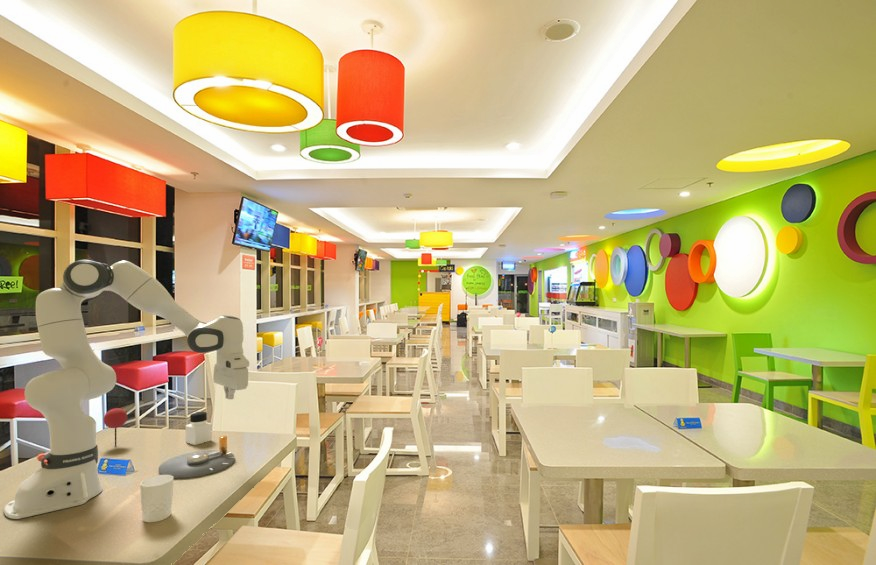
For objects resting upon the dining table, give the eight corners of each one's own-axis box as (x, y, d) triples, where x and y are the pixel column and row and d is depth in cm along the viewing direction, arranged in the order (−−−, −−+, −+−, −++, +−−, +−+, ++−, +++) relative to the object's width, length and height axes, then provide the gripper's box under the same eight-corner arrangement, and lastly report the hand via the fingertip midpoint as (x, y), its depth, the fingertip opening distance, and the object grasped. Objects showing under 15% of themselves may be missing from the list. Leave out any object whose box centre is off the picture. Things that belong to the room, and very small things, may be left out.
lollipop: (131, 443, 190) (131, 406, 191) (114, 449, 183) (114, 411, 183) (116, 442, 192) (116, 405, 192) (98, 448, 185) (99, 410, 185)
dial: (191, 466, 162) (191, 447, 162) (183, 461, 166) (183, 443, 166) (230, 455, 172) (230, 438, 172) (222, 451, 176) (222, 434, 177)
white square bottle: (211, 440, 194) (211, 411, 194) (195, 445, 188) (195, 415, 188) (201, 437, 197) (201, 409, 198) (185, 442, 191) (185, 413, 192)
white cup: (149, 526, 123) (149, 488, 123) (134, 519, 127) (134, 482, 128) (179, 514, 130) (179, 478, 130) (164, 507, 134) (164, 472, 134)
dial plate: (174, 485, 149) (174, 480, 150) (148, 466, 165) (148, 462, 165) (246, 463, 168) (246, 459, 168) (217, 448, 183) (217, 445, 183)
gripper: (208, 358, 174) (208, 395, 173) (234, 364, 160) (233, 405, 160) (225, 356, 178) (225, 392, 178) (251, 362, 165) (251, 401, 165)
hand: (229, 398), depth 169 cm, fingers closed
